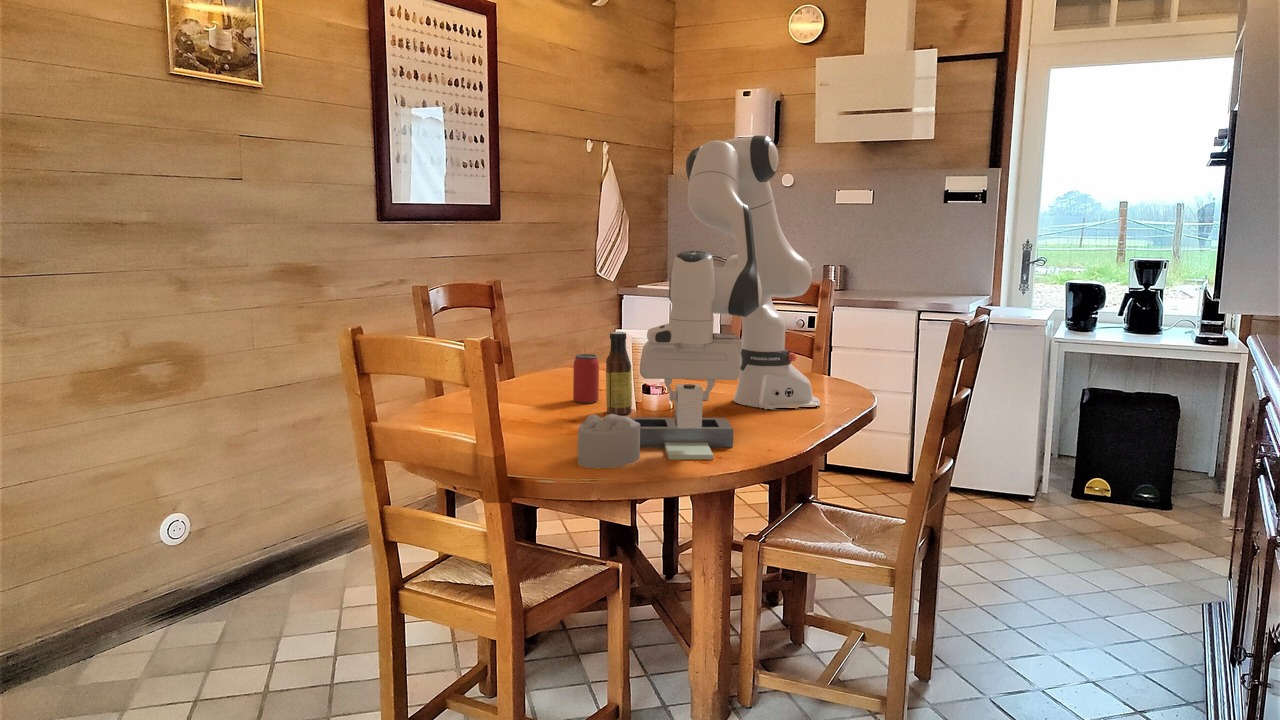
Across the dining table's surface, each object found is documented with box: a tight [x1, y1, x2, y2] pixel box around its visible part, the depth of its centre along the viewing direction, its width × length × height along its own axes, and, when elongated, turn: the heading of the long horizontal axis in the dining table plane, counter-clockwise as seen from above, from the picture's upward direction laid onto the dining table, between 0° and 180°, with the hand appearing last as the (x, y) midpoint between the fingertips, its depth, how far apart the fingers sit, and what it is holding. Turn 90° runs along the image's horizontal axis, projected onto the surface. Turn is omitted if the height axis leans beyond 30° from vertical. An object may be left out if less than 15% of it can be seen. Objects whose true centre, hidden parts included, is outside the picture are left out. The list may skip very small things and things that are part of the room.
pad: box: [663, 443, 714, 460], centre depth 175 cm, size 9×9×1 cm
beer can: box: [572, 353, 600, 404], centre depth 221 cm, size 7×7×12 cm
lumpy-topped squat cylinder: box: [577, 413, 641, 469], centre depth 169 cm, size 10×13×9 cm
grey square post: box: [674, 383, 704, 428], centre depth 174 cm, size 5×5×8 cm
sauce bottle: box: [605, 331, 633, 416], centre depth 208 cm, size 6×6×20 cm
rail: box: [628, 416, 734, 448], centre depth 184 cm, size 24×10×4 cm, turn 94°
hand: (688, 400), depth 174 cm, fingers closed on grey square post, 5 cm apart
